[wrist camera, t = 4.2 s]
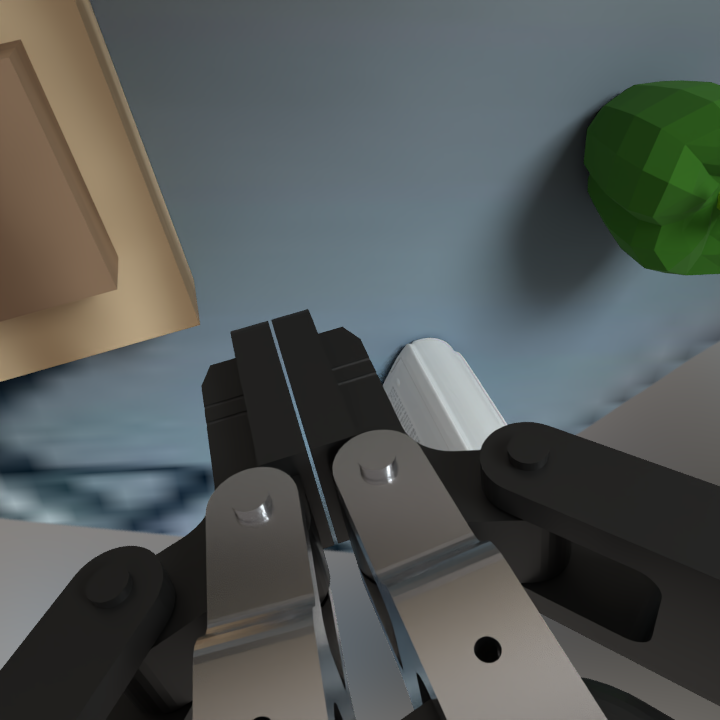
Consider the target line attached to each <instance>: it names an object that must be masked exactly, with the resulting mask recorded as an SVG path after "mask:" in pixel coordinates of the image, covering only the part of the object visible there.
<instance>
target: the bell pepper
mask: <svg viewBox="0 0 720 720" xmlns="http://www.w3.org/2000/svg"><path fill="white" fill-rule="evenodd" d="M584 165H585V167H586V168H587V170H588V171H589V173H590V175H589V177H588V193H589V195H590V197H591V199H592V201H593V204H594V205H595V207H596V209H597V211H598V213H599V215H600V216H601V218H602V220H603V222H604V224H605V225H606V227H607V228H608V230H609V231H610V233H611V234H612V236H613V237H614V239H615V240H616V241H617V243H618V244H619V246H620V247H621V249H623V250H624V251H625V252H626V253H627V254H628V255H630V256H631V257H632V258H633V259H634V260H636V261H637V262H638V263H639V264H640V265H641V266H643V267H644V268H646V269H651V270H655V271H660V272H664V273H671V274H680V275H703V274H720V85H717V84H715V83H712V82H698V81H660V82H652V83H645V84H638V85H633V86H632V87H630V88H628V89H626V90H625V91H623V92H622V93H621V94H619V95H618V96H617V97H615V98H614V99H612V100H611V101H610V102H608V103H607V104H606V105H604V106H603V107H602V108H601V109H600V111H599V112H598V114H597V115H596V117H595V118H594V120H593V121H592V122H591V124H590V125H589V127H588V128H587V135H586V144H585V154H584Z"/></svg>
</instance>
